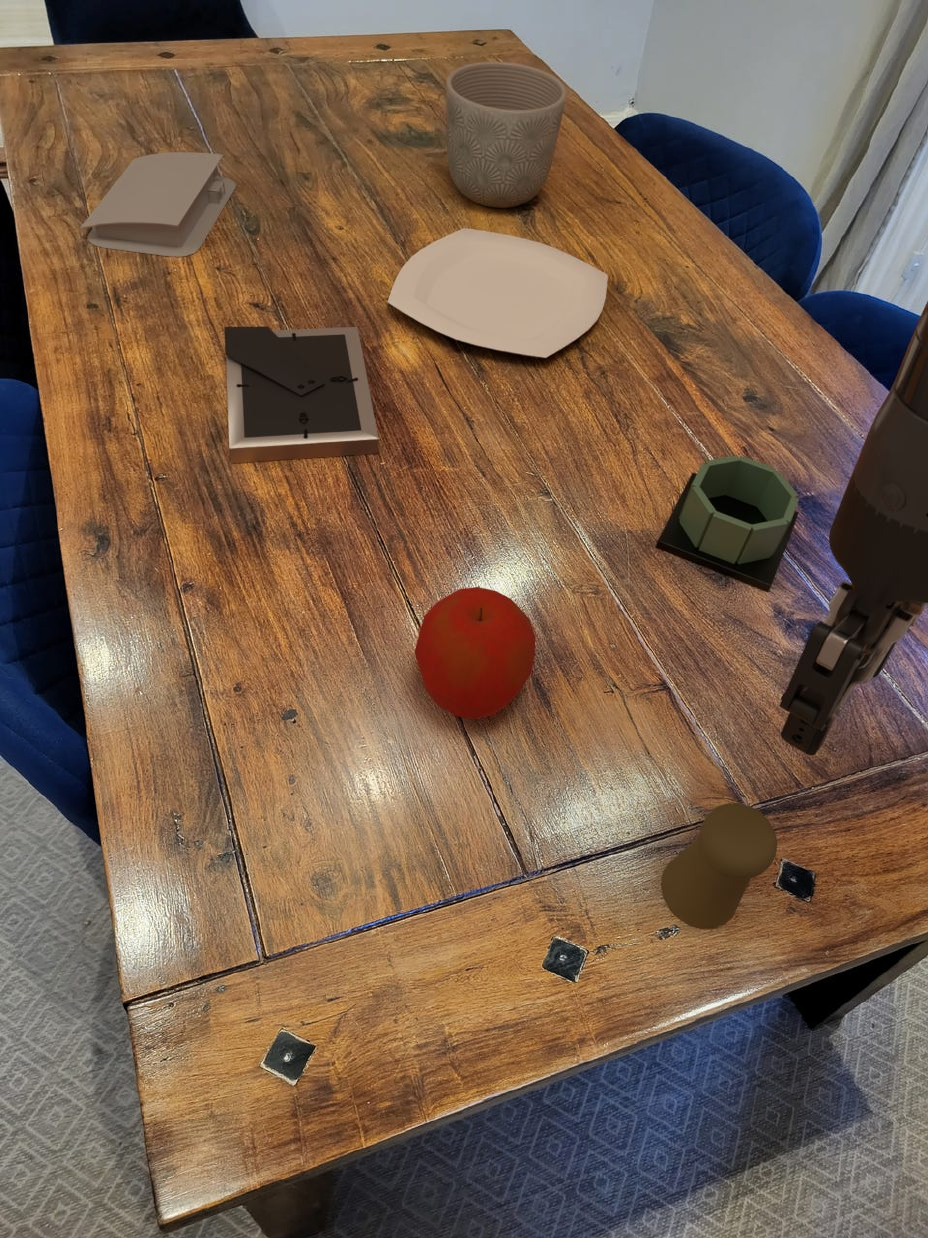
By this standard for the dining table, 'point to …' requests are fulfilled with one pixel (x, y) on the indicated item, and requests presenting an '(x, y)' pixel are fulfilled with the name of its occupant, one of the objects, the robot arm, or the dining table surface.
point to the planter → (502, 130)
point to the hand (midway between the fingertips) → (831, 704)
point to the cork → (719, 865)
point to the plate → (500, 292)
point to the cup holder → (733, 520)
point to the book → (161, 205)
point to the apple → (475, 652)
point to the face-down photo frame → (297, 394)
